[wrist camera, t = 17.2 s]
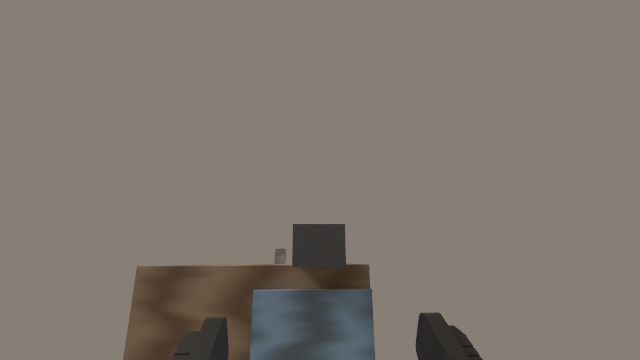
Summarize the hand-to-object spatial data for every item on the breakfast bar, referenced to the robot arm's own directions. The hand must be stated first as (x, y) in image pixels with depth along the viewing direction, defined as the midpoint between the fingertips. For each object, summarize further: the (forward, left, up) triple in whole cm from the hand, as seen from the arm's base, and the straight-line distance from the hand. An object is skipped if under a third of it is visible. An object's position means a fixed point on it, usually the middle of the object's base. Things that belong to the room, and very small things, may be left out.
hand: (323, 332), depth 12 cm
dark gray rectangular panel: (0, +18, +2) cm, 18 cm away
